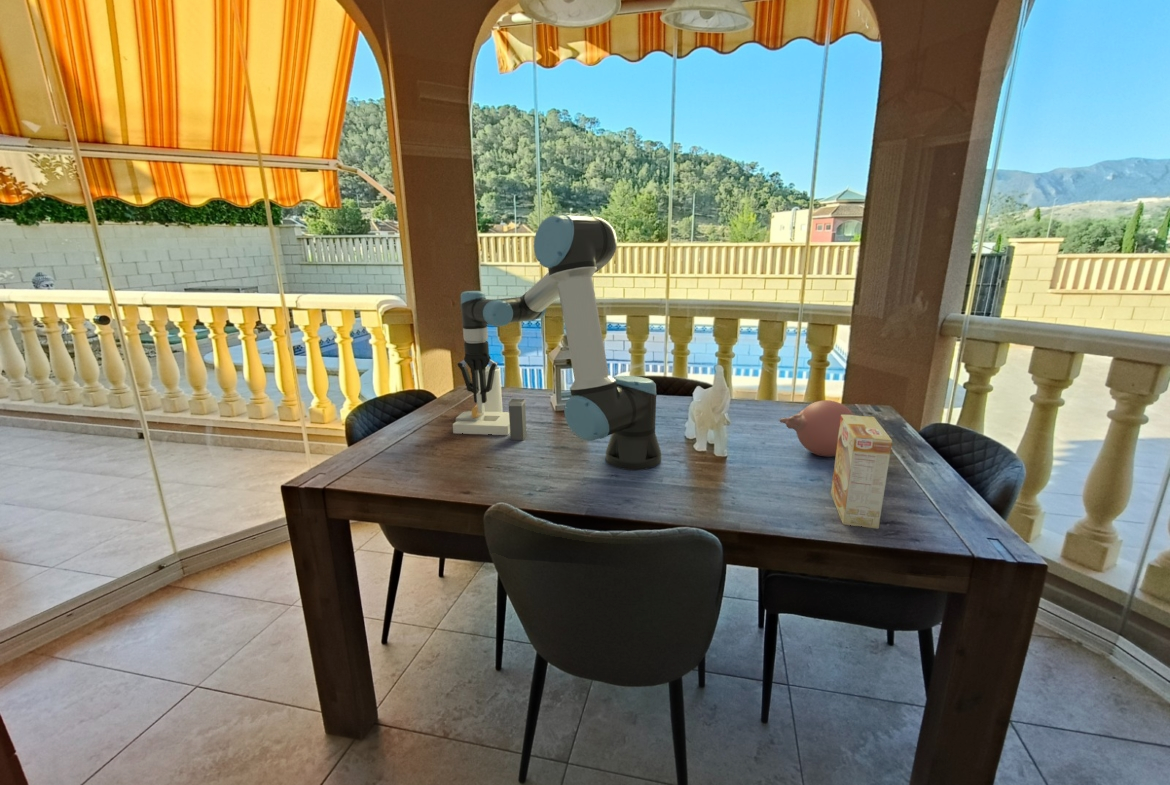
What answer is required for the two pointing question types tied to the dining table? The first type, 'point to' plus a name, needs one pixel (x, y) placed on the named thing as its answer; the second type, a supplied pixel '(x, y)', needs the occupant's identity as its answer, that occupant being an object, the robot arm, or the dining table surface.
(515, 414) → the plug
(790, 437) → the dining table surface
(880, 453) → the coffeecake box
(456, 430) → the socket plate
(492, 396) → the cup
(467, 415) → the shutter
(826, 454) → the pomegranate
